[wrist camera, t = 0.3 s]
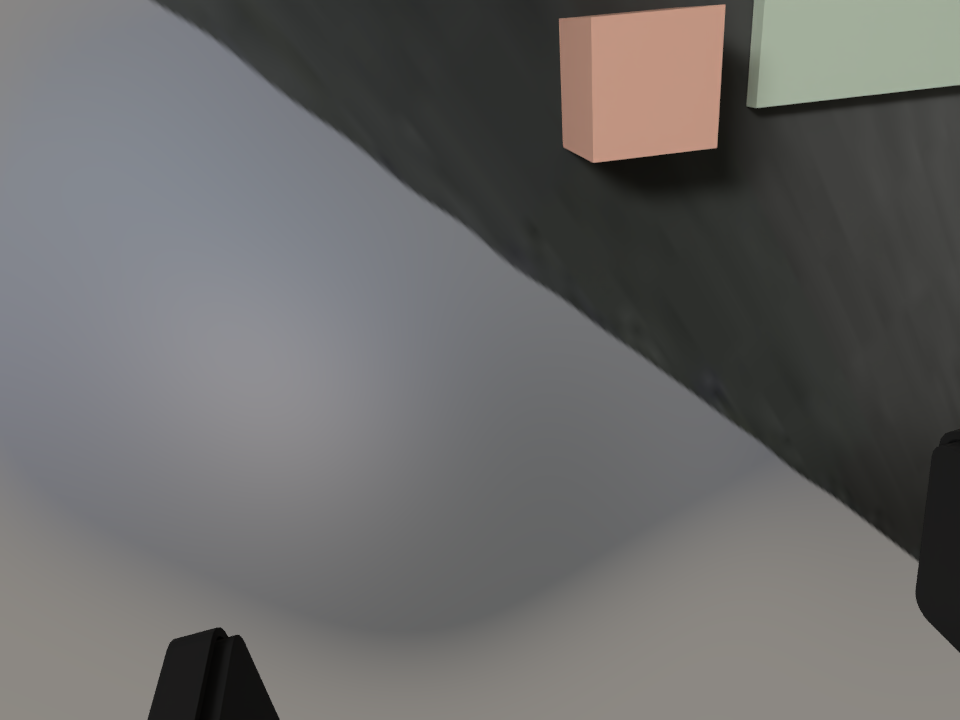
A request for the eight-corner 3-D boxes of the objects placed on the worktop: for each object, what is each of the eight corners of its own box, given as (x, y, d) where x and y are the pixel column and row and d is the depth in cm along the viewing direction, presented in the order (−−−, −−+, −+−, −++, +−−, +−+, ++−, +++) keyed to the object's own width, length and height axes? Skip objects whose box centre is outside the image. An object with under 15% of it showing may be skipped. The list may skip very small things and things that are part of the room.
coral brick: (558, 18, 35) (591, 17, 30) (676, 7, 35) (725, 4, 31) (562, 146, 37) (593, 162, 33) (672, 133, 38) (717, 147, 33)
